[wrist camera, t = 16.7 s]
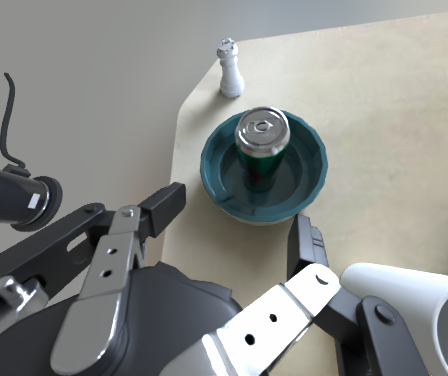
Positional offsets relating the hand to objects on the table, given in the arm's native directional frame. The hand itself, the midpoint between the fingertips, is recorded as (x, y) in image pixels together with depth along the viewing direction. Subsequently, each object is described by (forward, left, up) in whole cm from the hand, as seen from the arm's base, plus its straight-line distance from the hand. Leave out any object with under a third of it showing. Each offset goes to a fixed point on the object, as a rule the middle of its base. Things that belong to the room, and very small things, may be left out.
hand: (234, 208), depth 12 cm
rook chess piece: (-17, +19, -14) cm, 29 cm away
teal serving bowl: (-3, +7, -14) cm, 16 cm away
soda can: (-2, +7, -13) cm, 15 cm away
